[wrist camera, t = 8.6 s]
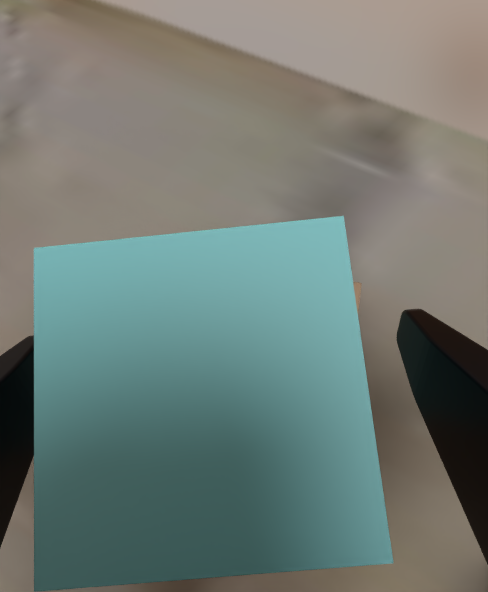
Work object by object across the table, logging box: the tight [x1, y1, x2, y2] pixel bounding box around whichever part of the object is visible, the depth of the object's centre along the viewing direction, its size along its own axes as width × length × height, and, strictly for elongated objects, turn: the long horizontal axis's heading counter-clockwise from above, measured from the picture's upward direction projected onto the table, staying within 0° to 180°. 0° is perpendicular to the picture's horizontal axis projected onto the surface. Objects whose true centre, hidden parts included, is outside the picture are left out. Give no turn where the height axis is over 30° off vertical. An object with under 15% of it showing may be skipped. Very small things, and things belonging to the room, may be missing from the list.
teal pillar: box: [34, 216, 393, 592], centre depth 11 cm, size 4×4×12 cm
